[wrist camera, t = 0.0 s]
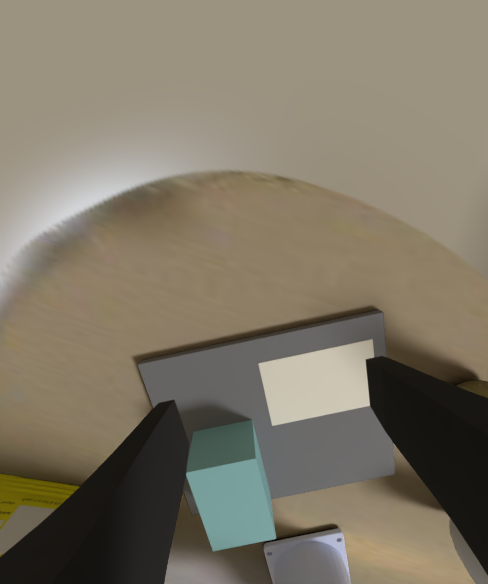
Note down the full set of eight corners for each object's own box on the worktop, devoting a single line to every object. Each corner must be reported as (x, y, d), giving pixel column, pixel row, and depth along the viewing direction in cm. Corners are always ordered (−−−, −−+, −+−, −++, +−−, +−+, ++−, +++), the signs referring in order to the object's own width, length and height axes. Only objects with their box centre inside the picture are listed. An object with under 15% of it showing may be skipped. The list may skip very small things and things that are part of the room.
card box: (269, 491, 23) (276, 538, 19) (216, 502, 23) (213, 551, 19) (252, 419, 21) (255, 458, 17) (193, 431, 21) (185, 472, 17)
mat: (391, 468, 23) (395, 474, 23) (193, 508, 24) (192, 515, 23) (378, 309, 19) (383, 312, 19) (140, 360, 20) (137, 364, 19)
